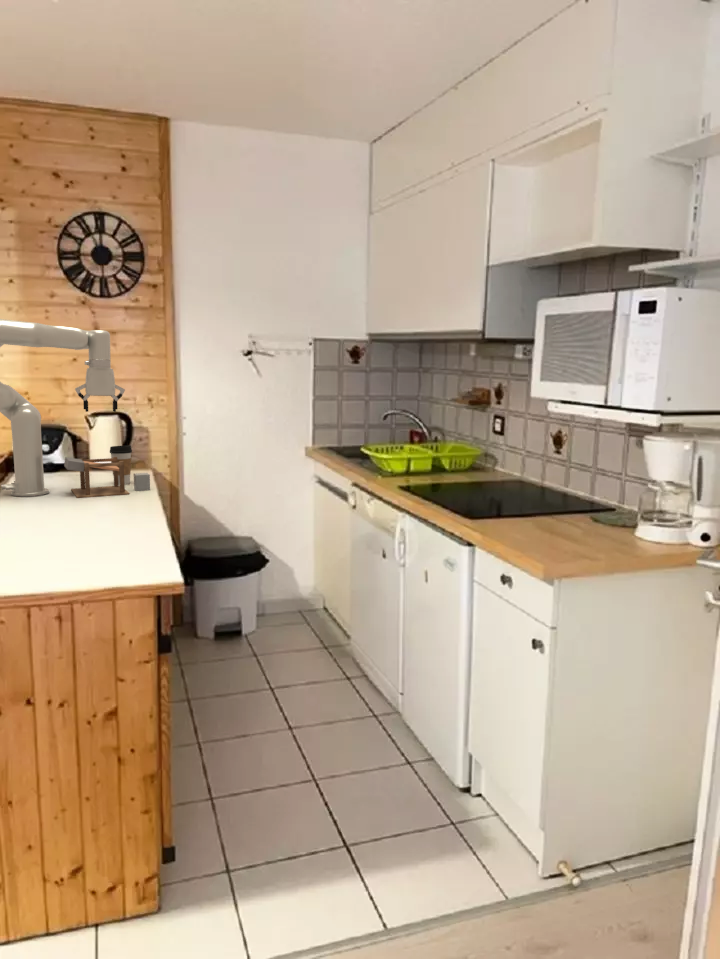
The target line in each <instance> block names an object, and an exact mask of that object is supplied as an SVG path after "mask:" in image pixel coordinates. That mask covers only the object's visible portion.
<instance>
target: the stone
mask: <svg viewBox="0 0 720 959" xmlns="http://www.w3.org/2000/svg"><path fill="white" fill-rule="evenodd" d="M150 476H151V474H149V473H148V472H139V473H138V472H136V473H133V490H135V491H136V492H144V491H151V479H150Z"/></svg>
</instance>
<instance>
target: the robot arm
mask: <svg viewBox="0 0 720 959" xmlns="http://www.w3.org/2000/svg"><path fill="white" fill-rule="evenodd" d="M4 345H7V346H9V345H10V346H19V347H20V346H21V347H30V348H57V349H67V350H75V351H81V350H88V359H87V360H84V365H85V366H88V367H87V368H86V373H85V383H84V384H82V385H79V386H77V387H75V389H74V390H75V392H76V394H77V396H78V397H79V398H81V400H83V410H85V413H87V412H89V401H88V399H89V398H90V396H91V397H92V396H93V397H111V398H112V412H113V413H116V412H117V411H116V410H118V401H119V400H120V399H121V398H122V396H123V395H124V393H125V391H126V389H125V388H123V387H122V386H119V385H117V384H116V379H115V371H114V368H111V367H112V366H111V364H112V363H111V359H112V358H111V334H110V332H109V331H107V330H103V329H101V330H100V329H99V330H98V329H91V330H84V329H81V328H78V327H68V326H59V325H49V324H45V323H39V322H34V321H33V322H31V321H24V320H23V321H21V320H12V319H2V318H0V348H1V347H2V346H4ZM84 389H85V395H84V394H83V393H82V392H81V390H84ZM116 390H118V391H119V393H118V394H117V395H115V394H116ZM0 413H1V415H3V416H4V417H6V418H7V419H8V420H9V421H10V430H11V437H12V438H11V439H12V449H13V450H12V451H13V452H12V453H13V464H14V467H13V468H14V480H13V482H11V483H9V484H8V483H3V484H1V490H3V491H4V490H6V491H8V490H9V491H10V490H11V491H10V492H11V493H10V494H11V495H12V496H14V497H37V496H43V495H47V494H49V493H50V489H49V488H48V487H45V474H44V458H43V443H42V441H43V440H42V426H41V425H42V416H41V412H40V411H39V409H38V408H37V407H36V406H34V405H33V404H32V403H31V402H30V401H29V400H27V399H26V398H25V397H24V396H23V395H22V394H21V393H19V391H17V390H16V389H14V388H13V387H12V386H10V385H8V384H5V383H3V382H1V381H0Z"/></svg>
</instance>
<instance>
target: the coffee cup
mask: <svg viewBox="0 0 720 959" xmlns="http://www.w3.org/2000/svg"><path fill="white" fill-rule="evenodd" d="M109 453H110V457H111V458H113V457H117V461H118V463H119V461H124V483H125V485H129V484H131V469H132V453H133V450H132V445H130V444H127V445H126V444H125V445H112V446H110V448H109ZM110 463H113V461H110ZM118 468H119V466H118ZM112 476H113V477H114V473H113V472H112ZM118 486H120V474H119V471H118Z"/></svg>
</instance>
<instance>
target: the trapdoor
mask: <svg viewBox="0 0 720 959" xmlns="http://www.w3.org/2000/svg"><path fill="white" fill-rule="evenodd" d="M84 463H89V464H103V462H88V461H82V460H81V459H79V458H74V457H65V458H64V464H63V466H64V468H65V469H66V470H68V471H75V472H80V471H81V472H84V473H85V471H84ZM92 468H95V469H99V470H100V469H102V470H109V471H113V470H115V471H119V468H118V467H117V466H106V467H92Z"/></svg>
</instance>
